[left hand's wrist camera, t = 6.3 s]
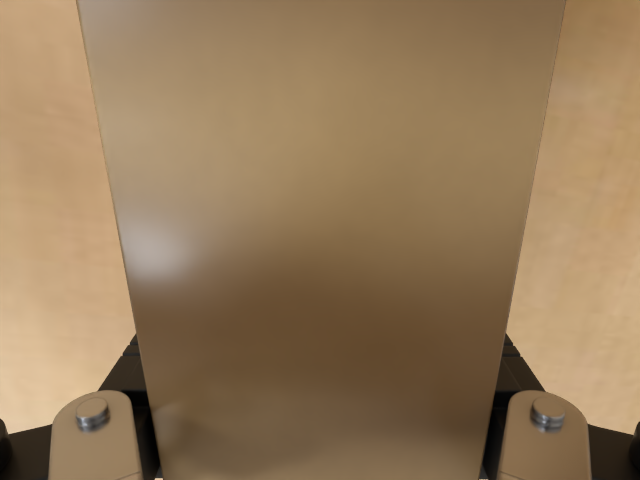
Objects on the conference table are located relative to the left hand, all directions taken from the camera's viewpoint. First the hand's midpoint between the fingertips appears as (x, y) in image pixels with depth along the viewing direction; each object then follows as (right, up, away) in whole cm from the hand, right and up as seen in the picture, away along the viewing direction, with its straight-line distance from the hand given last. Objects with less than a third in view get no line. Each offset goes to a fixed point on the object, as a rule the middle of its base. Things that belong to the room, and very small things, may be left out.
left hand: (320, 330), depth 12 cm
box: (0, +9, +2) cm, 9 cm away
